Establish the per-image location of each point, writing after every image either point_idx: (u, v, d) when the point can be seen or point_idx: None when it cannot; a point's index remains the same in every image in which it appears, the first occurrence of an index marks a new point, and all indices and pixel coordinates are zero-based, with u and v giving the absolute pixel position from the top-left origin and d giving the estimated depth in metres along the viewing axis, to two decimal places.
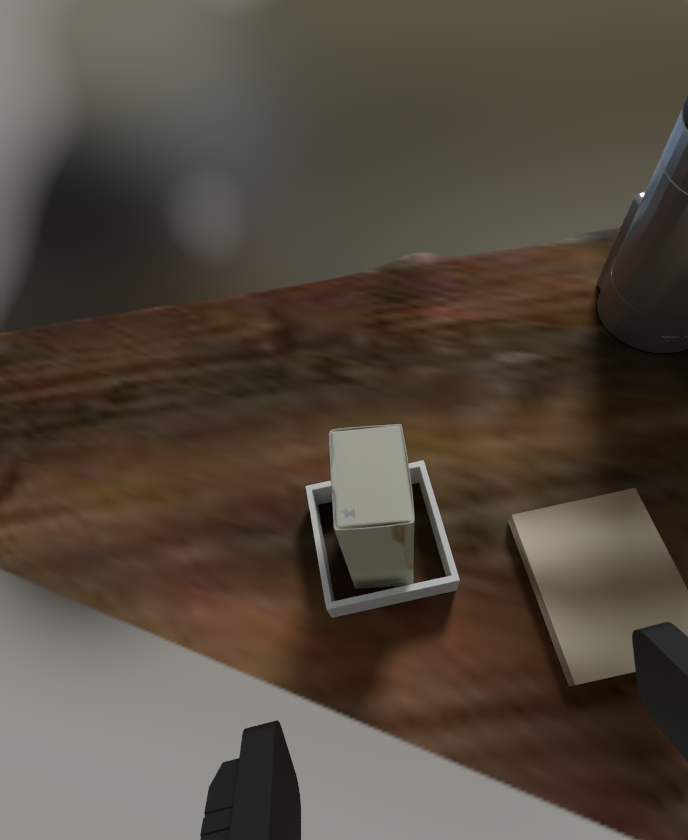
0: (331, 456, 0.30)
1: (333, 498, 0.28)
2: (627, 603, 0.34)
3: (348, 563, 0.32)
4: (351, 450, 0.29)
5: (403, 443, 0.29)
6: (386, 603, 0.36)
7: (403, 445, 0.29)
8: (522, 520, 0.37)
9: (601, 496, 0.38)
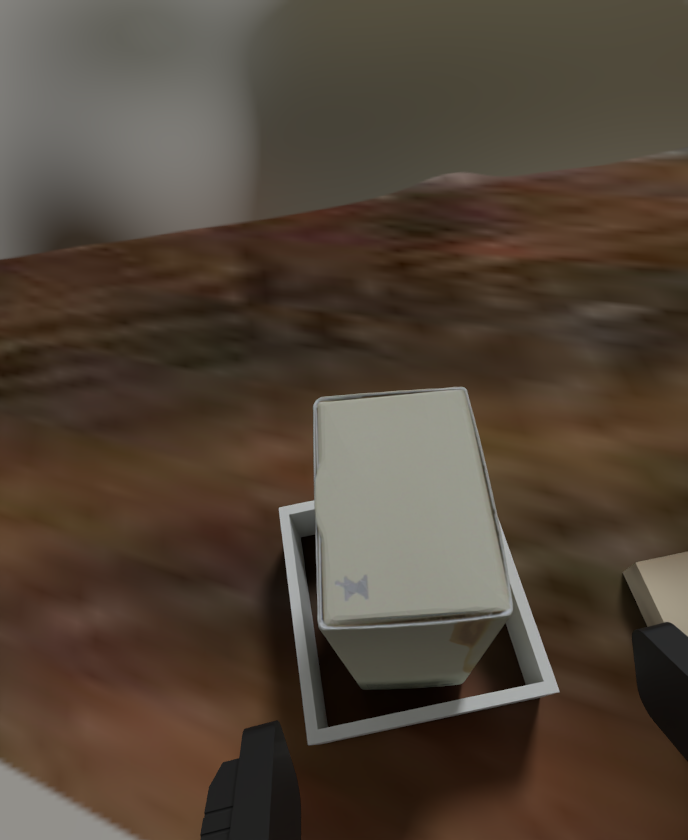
0: (316, 453, 0.14)
1: (318, 549, 0.12)
2: None
3: (350, 668, 0.16)
4: (360, 441, 0.14)
5: (473, 426, 0.14)
6: None
7: (473, 431, 0.14)
8: (656, 573, 0.21)
9: None
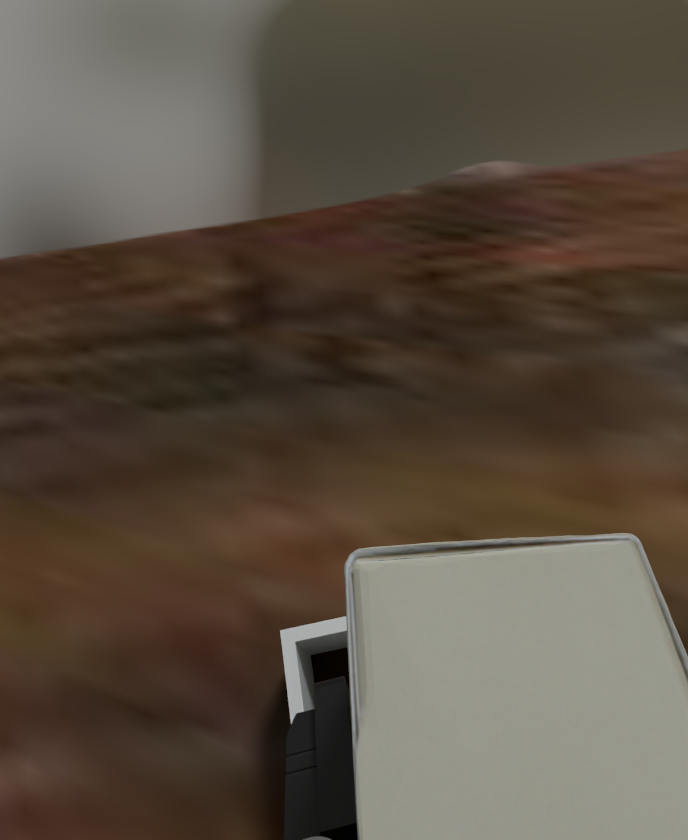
0: (355, 681, 0.07)
1: None
2: None
3: None
4: (443, 661, 0.07)
5: (668, 627, 0.07)
6: None
7: (670, 638, 0.07)
8: None
9: None
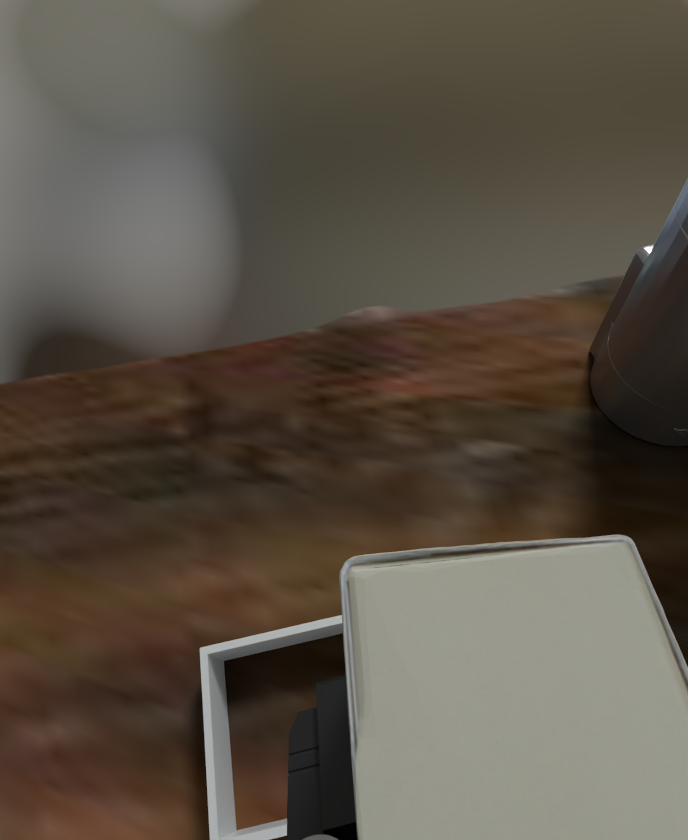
0: (353, 691, 0.07)
1: None
2: None
3: None
4: (441, 667, 0.07)
5: (663, 628, 0.07)
6: None
7: (666, 638, 0.07)
8: None
9: None
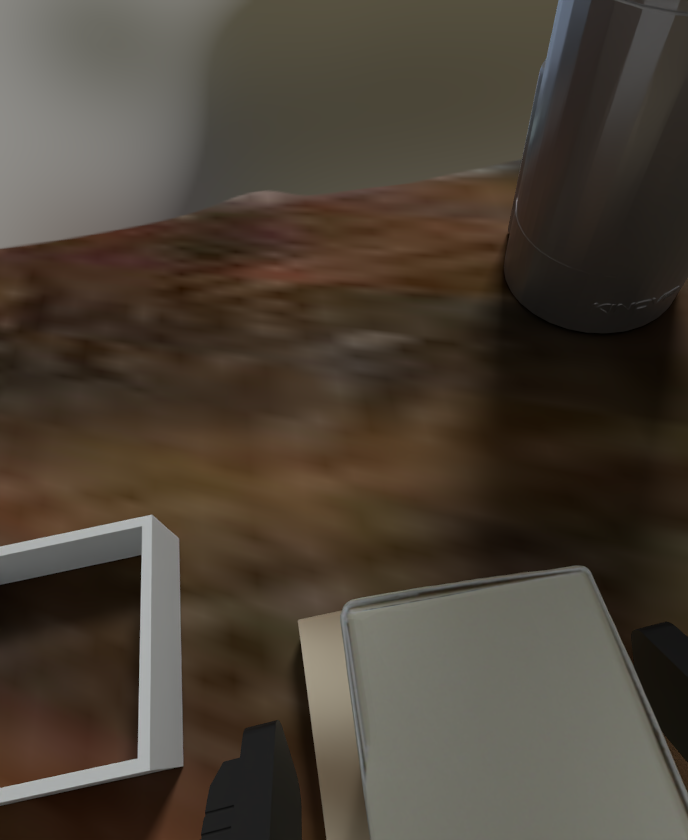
0: (359, 721, 0.08)
1: None
2: None
3: None
4: (433, 694, 0.08)
5: (618, 646, 0.08)
6: (38, 796, 0.19)
7: (620, 655, 0.08)
8: (315, 631, 0.20)
9: None
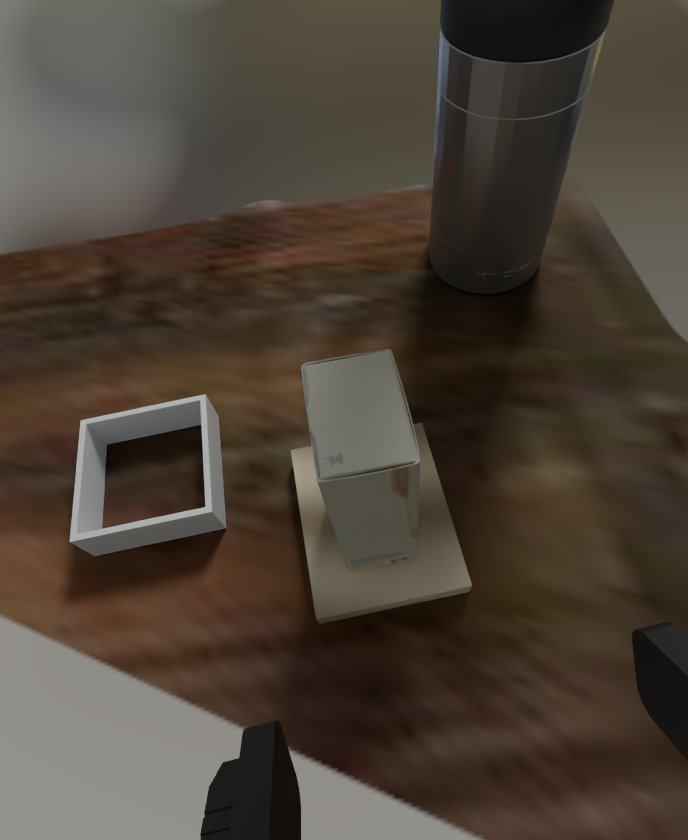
0: (306, 394, 0.23)
1: (313, 444, 0.22)
2: None
3: (338, 534, 0.26)
4: (331, 385, 0.23)
5: (396, 371, 0.23)
6: (147, 539, 0.34)
7: (396, 373, 0.23)
8: (300, 455, 0.35)
9: None
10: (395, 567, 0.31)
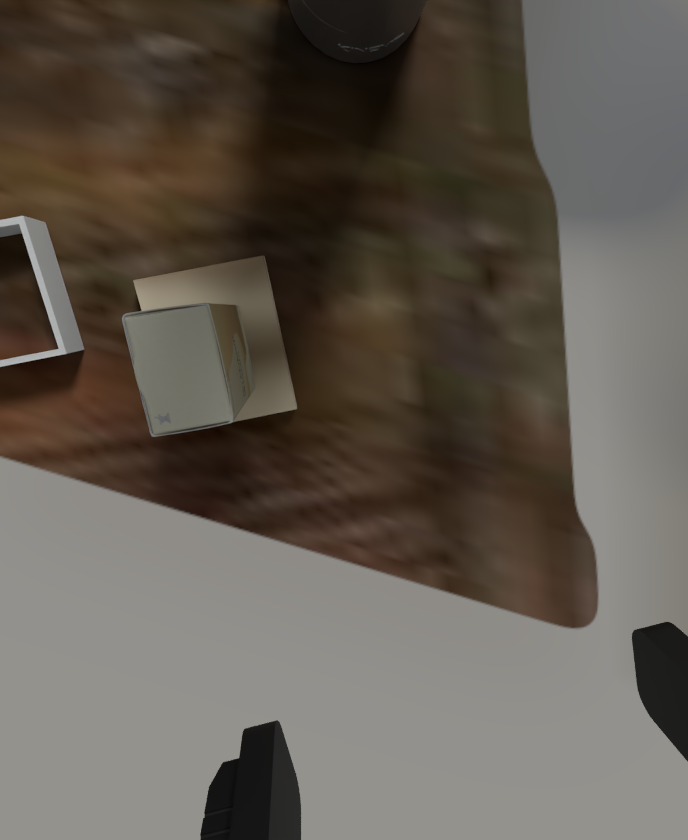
0: (131, 350, 0.25)
1: (143, 402, 0.26)
2: None
3: None
4: (153, 343, 0.25)
5: (213, 329, 0.26)
6: None
7: (213, 331, 0.26)
8: (143, 287, 0.36)
9: (227, 263, 0.36)
10: None
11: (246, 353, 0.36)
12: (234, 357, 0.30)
